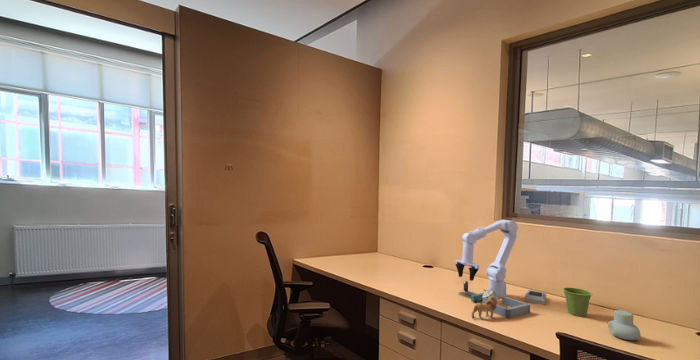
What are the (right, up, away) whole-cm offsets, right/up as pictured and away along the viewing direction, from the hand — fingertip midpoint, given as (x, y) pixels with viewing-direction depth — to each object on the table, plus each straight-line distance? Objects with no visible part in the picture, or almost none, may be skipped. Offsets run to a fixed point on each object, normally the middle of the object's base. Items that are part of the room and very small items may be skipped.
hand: (465, 278), depth 174 cm
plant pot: (+46, -10, -23) cm, 52 cm away
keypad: (+38, -12, -3) cm, 40 cm away
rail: (+1, -10, -1) cm, 10 cm away
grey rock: (+7, -10, -14) cm, 18 cm away
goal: (+12, -9, -22) cm, 26 cm away
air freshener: (+47, -9, -48) cm, 68 cm away
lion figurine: (-3, -8, -31) cm, 32 cm away
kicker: (+2, -10, -4) cm, 11 cm away
